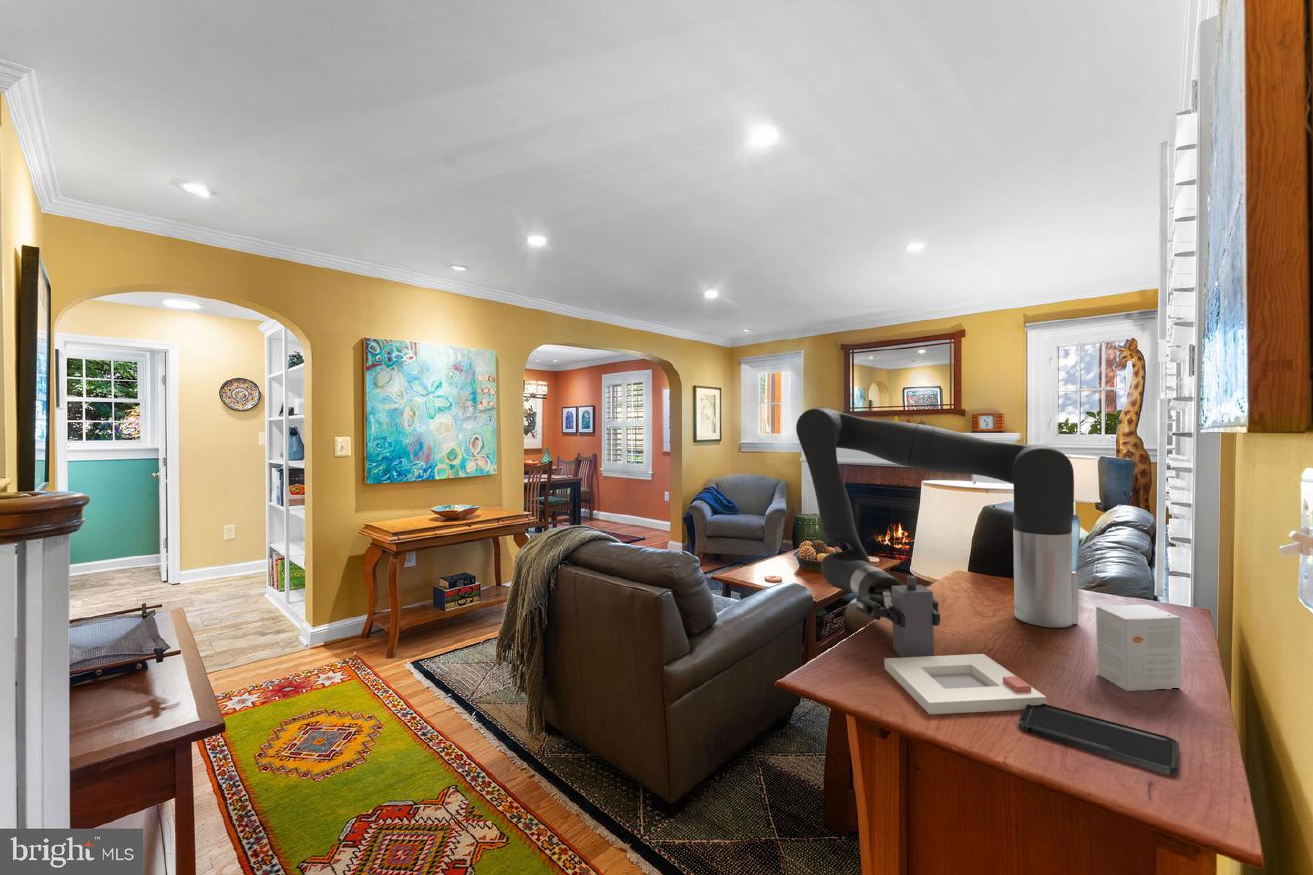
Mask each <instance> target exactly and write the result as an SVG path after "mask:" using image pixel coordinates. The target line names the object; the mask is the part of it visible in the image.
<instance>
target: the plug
mask: <svg viewBox="0 0 1313 875" xmlns="http://www.w3.org/2000/svg"><path fill="white" fill-rule="evenodd" d="M933 594H934V593H933V591H932V590H931V589H929V588H928V587H925V586H924V585H922V584H917V577H916V576H914V575H907V576H906V585H905V584H903V585H901V586H892V607H895V608H896V609H898V610H899V611H900V612H902V613H903V614H904V615H905V627H899V626H898V625H896V624H894V623H893V622H892V649H894V650H895V651H894V650H893V651H894V652H896V653H897V652H898V653H897V654H898V656H900V658H906V657H927V656H935V649H934V648H935V644H934V643H935V642H934V640H935V639H934V638H935V637H934V626H933V597H934V596H933Z"/></svg>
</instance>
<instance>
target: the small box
mask: <svg viewBox="0 0 1313 875" xmlns="http://www.w3.org/2000/svg"><path fill="white" fill-rule="evenodd" d="M1095 612H1096V613H1095V616H1096V622H1095V623H1096V663H1097V665H1096V667H1097V668H1096V669H1097V670H1096V671H1097V675H1098V676H1099V677H1102V678H1103V679H1104V680H1107V681H1108V682H1110V683H1112V684H1114V685H1116V686H1117V687H1119V688H1120V689H1122V690H1123V691H1126V692H1132V691H1133V692H1135V691H1136V692H1137V691H1138V692H1139V691H1140V690H1141V691H1157V690H1156V689H1166V690H1173V689H1172V688H1182V642H1181V640H1182V639H1181V638H1182V636H1181V635H1182V634H1181V633H1182V632H1181V630H1182V628H1181V627H1182V625H1181V623H1182V622H1181V617H1180V616H1178V615H1175V614H1174V613H1173V614H1172V613H1170V612H1167V611H1166V610H1162V609H1160V608H1157V607H1155V606H1152V605H1149V604H1132V605H1129V604H1127V605H1106V606H1104V605H1103V606H1096V607H1095Z"/></svg>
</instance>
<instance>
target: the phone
mask: <svg viewBox="0 0 1313 875" xmlns="http://www.w3.org/2000/svg"><path fill="white" fill-rule="evenodd" d="M1018 728H1019V729H1020V730H1021V731H1023V732H1025V733H1028V734H1031V735H1034V736H1038V737H1040V738H1041V737H1042V738H1044V739H1047V740H1051V741H1054V742H1058V743H1060V744H1065V745H1067V746H1070V747H1074V748H1077V749H1080V750H1084V751H1087V752H1090V753H1094V754H1097V755H1100V756H1103V757H1106V758H1110V759H1113V760H1117V761H1120V762H1124V763H1125V764H1130V765H1133V766H1136V767H1141V768H1143V769H1145V770H1146V769H1147V770H1150V771H1153V772H1157V773H1160V774H1162V775H1165V776H1166V775H1167V776H1177V775H1178V774H1179V759H1180V758H1179V757H1180V743H1179V742H1178V740H1176V739H1174V738H1173V737H1170V736H1168V735H1167V736H1166V735H1163V734H1159V733H1157V732H1156V733H1155V732H1152V731H1149V730H1145V729H1141V728H1138V727H1137V728H1136V727H1132V726H1130V725H1125V724H1121V723H1117V722H1114V721H1110V720H1105V719H1103V718H1098V717H1095V716H1091V715H1088V714H1084V713H1080V712H1076V711H1072V710H1069V709H1065V708H1061V707H1057V706H1053V705H1050V704H1047V703H1046V704H1041V705H1031V704H1028V705H1027V706H1026V708H1025V710H1023V712H1022V713H1021V716H1020V718H1019V719H1018Z"/></svg>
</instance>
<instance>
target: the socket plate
mask: <svg viewBox="0 0 1313 875" xmlns="http://www.w3.org/2000/svg"><path fill="white" fill-rule="evenodd" d="M883 660H884V669H885V670H886V671H887V672H888V674H890V676H891V677H892V678H894V680H895V681H896V682H897V683H898V684H899V685H900V686H901V687H903V689H904V690H905V691H906V692H907V693H908V694H909V695H910V697H912V698H913V699H914V700H915V702H917V703H918V704H919V705H920V706H921V707H922V708H923V709H924V710H925V711H926V712H927V713H928V714H929V715H944V714H963V713H982V712H983V713H985V712H1004V711H1006V712H1007V711H1024V710H1025V708H1026V706H1027V705H1028V704H1031V705H1041V704H1046V705H1047V696H1045V695H1044V694H1042V693H1041V692H1040V691H1039V690H1037V689H1036V688H1034V687H1033V686H1032V685H1031V684H1028V683H1027V682H1026V681H1025V680H1023V679H1021V678H1020V677H1018V676H1016V675H1015V674H1014V673H1012V672H1010V671H1009V670H1008V669H1006V668H1005V667H1003V666H1002V665H1001V664H999V663H997V662H996V661H995V660H993V659H992V658H990V657H989V656H988V655H986V654H984V653H976V654H975V653H973V654H971V653H970V654H955V655H954V654H953V655H949V654H948V655H934V656H927V657H906V658H902V657H889V658H887V657H886V658H884V659H883Z"/></svg>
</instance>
